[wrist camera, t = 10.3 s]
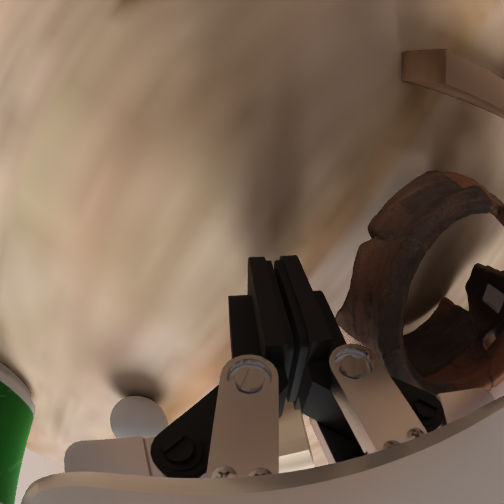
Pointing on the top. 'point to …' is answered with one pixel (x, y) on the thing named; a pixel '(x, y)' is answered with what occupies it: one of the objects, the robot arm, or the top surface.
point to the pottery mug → (447, 313)
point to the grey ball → (137, 418)
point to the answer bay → (455, 84)
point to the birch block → (293, 441)
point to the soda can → (13, 430)
